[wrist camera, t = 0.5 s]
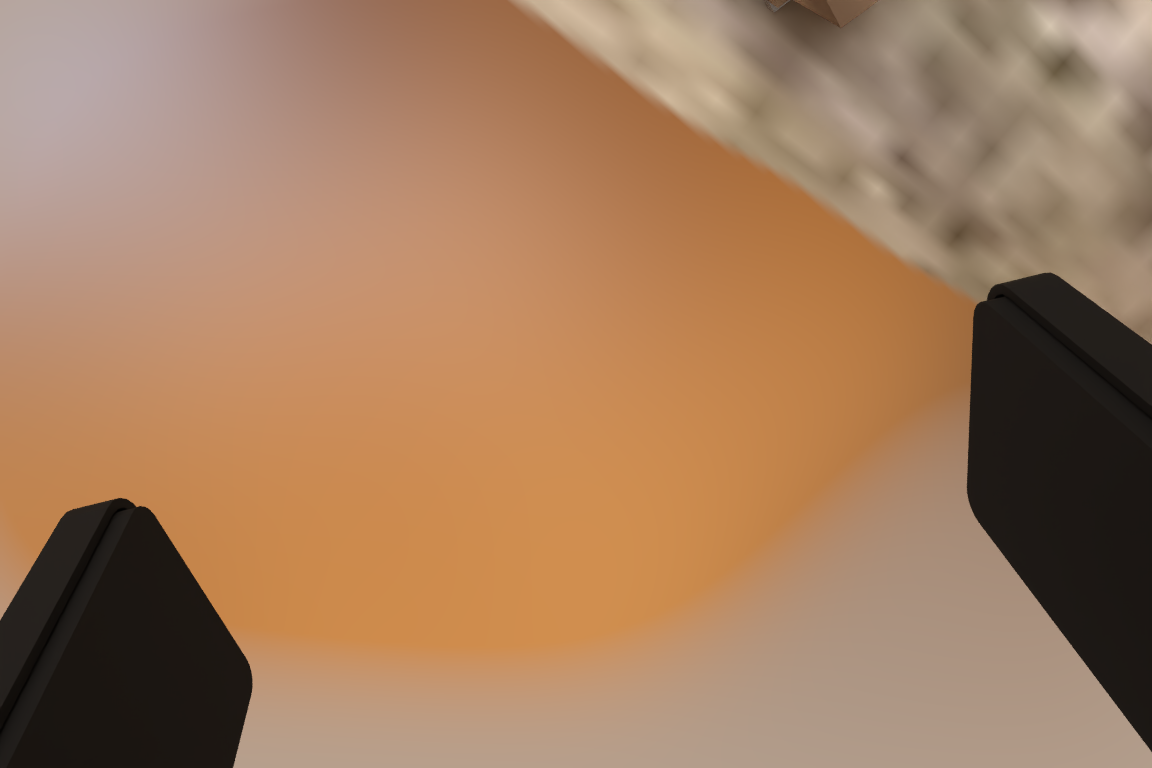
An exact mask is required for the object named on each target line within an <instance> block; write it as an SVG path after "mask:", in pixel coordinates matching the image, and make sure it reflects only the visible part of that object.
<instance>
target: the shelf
mask: <svg viewBox="0 0 1152 768" xmlns="http://www.w3.org/2000/svg"><path fill="white" fill-rule="evenodd" d="M768 1H769V3H771V4H773V5H774V6H776V7H777V8H779V7H780V6H781V5H783V4H784V3H785V2H787V1H788V0H768ZM794 1H795V2H797V3H799V4H801V5H802V6H804V7H806V8H807V9H809V10H811V11H813V12H814V13H816V14H818V15H820V16H821V17H823V18H825V19H826V20H828V21H830V22H832V23H833V24H835V25H837V26H839V27H840V28H842V27H843V26H844V25H846V24H847V23H849V22H850V21H851V20H853V19H854V18H855V17H857V16H858V15H859V14H861V13H862V12H864V11H865V10H866V9H868V8H869V7H870V6H872V5H873V4H874V3H876V2H877V1H879V0H794Z"/></svg>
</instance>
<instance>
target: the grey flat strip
mask: <svg viewBox="0 0 1152 768" xmlns="http://www.w3.org/2000/svg"><path fill="white" fill-rule="evenodd" d="M789 1H790V0H788V1H787V2H789ZM764 2H765V4H766V6H767V7H768V8H769V9H770V10H772V11H773V12H776V11H777V10H778V9H780V8H781V7H782V6H783V5H785V4H786V3H787V2H785V3H784V4H783V5H781V6H780V7H779V8H777V7H776V6H774V5H773V4H771V3H769V1H768V0H764Z"/></svg>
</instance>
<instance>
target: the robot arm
mask: <svg viewBox="0 0 1152 768" xmlns="http://www.w3.org/2000/svg"><path fill="white" fill-rule="evenodd" d="M970 396H971V397H970V422H969V449H968V474H967V475H968V476H967V494H968V499H969V503H970V506H971V508H972V511H973V513H974V515H975V517H976V518H977V520H978V522H979V523H980V525H981V526H982V527H983V529H984V530H985V531H986V533H987V534H988V535H989V536H990V538H991V539H992V540H993V542H994V543H995V544H996V546H997V547H998V548H999V550H1000V551H1001V552H1002V554H1003V555H1004V556H1005V558H1006V559H1007V560H1008V562H1009V563H1010V564H1011V566H1012V567H1013V568H1014V570H1015V571H1016V572H1017V574H1018V575H1019V576H1020V578H1021V579H1022V580H1023V582H1024V583H1025V584H1026V586H1027V587H1028V588H1029V590H1030V591H1031V592H1032V594H1033V595H1034V596H1035V598H1036V599H1037V600H1038V602H1039V603H1040V604H1041V605H1042V607H1043V608H1044V609H1045V611H1046V612H1047V613H1048V615H1049V616H1050V617H1051V619H1052V620H1053V621H1054V623H1055V624H1056V625H1057V626H1058V628H1059V629H1060V631H1061V632H1062V633H1063V635H1064V636H1065V637H1066V638H1067V640H1068V641H1069V643H1070V644H1071V645H1072V647H1073V648H1074V649H1075V651H1076V652H1077V653H1078V655H1079V656H1080V657H1081V658H1082V660H1083V661H1084V662H1085V664H1086V665H1087V667H1088V668H1089V669H1090V670H1091V672H1092V673H1093V674H1094V676H1095V677H1096V678H1097V680H1098V681H1099V682H1100V684H1101V685H1102V686H1103V688H1104V689H1105V690H1106V692H1107V693H1108V694H1109V696H1110V697H1111V698H1112V700H1113V701H1114V702H1115V704H1116V705H1117V706H1118V708H1119V709H1120V710H1121V711H1122V713H1123V714H1124V716H1125V717H1126V718H1127V720H1128V721H1129V722H1130V724H1131V725H1132V726H1133V728H1134V729H1135V730H1136V732H1137V733H1138V734H1139V735H1140V737H1141V738H1142V740H1143V741H1144V742H1145V743H1146V745H1147V746H1148V747H1149V749H1150V750H1151V751H1152V345H1151V344H1150V343H1148V342H1147V341H1146V340H1144V339H1143V338H1142V337H1140V336H1139V335H1138V334H1136V333H1135V332H1134V331H1132V330H1131V329H1129V328H1128V327H1127V326H1125V325H1124V324H1123V323H1121V322H1120V321H1119V320H1117V319H1116V318H1114V317H1113V316H1112V315H1110V314H1109V313H1108V312H1106V311H1105V310H1104V309H1102V308H1101V307H1099V306H1098V305H1097V304H1095V303H1094V302H1093V301H1091V300H1090V299H1089V298H1087V297H1086V296H1084V295H1083V294H1082V293H1080V292H1079V291H1078V290H1076V289H1075V288H1074V287H1072V286H1071V285H1070V284H1068V283H1067V282H1065V281H1064V280H1063V279H1061V278H1060V277H1059V276H1057V275H1055V274H1053V273H1042V274H1038V275H1034V276H1030V277H1026V278H1022V279H1018V280H1014V281H1009V282H1005V283H1001V284H997V285H995V286H994V287H992V288H991V290H990V292H989V294H988V298H987V301H983V302H980V303H979V304H977V306H976V308H975V310H974V317H973V343H972V370H971V395H970ZM251 693H252V674H251V669H250V666H249V663H248V661H247V659H246V657H245V656H244V654H243V653H242V651H241V650H240V648H239V646H238V645H237V643H236V642H235V640H234V639H233V637H232V636H231V634H230V632H229V631H228V629H227V628H226V626H225V625H224V623H223V621H222V620H221V618H220V617H219V615H218V614H217V612H216V611H215V609H214V607H213V606H212V604H211V603H210V601H209V600H208V598H207V596H206V595H205V593H204V592H203V590H202V589H201V587H200V586H199V584H198V582H197V581H196V579H195V578H194V576H193V575H192V573H191V572H190V570H189V568H188V567H187V565H186V564H185V562H184V560H183V559H182V557H181V556H180V554H179V553H178V551H177V550H176V548H175V546H174V545H173V543H172V542H171V540H170V539H169V537H168V536H167V534H166V532H165V531H164V529H163V528H162V526H161V525H160V523H159V521H158V520H157V519H156V517H155V515H154V514H153V513H152V512H151V510H149V509H148V508H146V507H142V506H139V507H136V506H135V505H134V504H133V503H132V502H130V501H129V500H127V499H122V498H118V499H114V500H109V501H105V502H101V503H97V504H94V505H89V506H85V507H81V508H77V509H73V510H70V511H68V512H66V514H65V515H64V516H63V517H62V518H61V519H60V521H59V523H58V524H57V526H56V528H55V529H54V531H53V533H52V534H51V536H50V538H49V539H48V541H47V543H46V544H45V546H44V548H43V549H42V551H41V553H40V555H39V556H38V558H37V560H36V561H35V563H34V565H33V566H32V568H31V570H30V571H29V573H28V575H27V576H26V578H25V580H24V582H23V583H22V585H21V586H20V588H19V590H18V592H17V593H16V595H15V597H14V598H13V600H12V602H11V603H10V605H9V607H8V608H7V610H6V612H5V613H4V615H3V617H2V618H1V620H0V768H233V766H234V761H235V758H236V754H237V749H238V746H239V742H240V738H241V733H242V730H243V725H244V722H245V718H246V713H247V710H248V706H249V701H250V698H251Z"/></svg>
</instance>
